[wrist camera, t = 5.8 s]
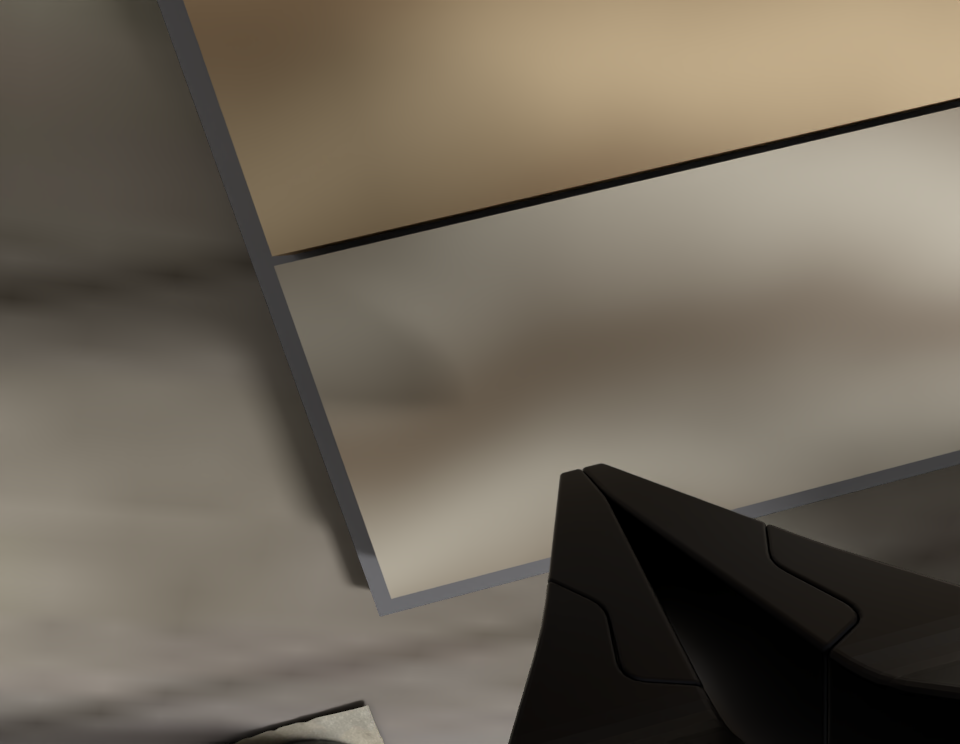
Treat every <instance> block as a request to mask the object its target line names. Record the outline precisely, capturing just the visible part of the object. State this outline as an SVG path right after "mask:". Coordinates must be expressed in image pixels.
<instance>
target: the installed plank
mask: <svg viewBox="0 0 960 744" xmlns="http://www.w3.org/2000/svg"><path fill="white" fill-rule="evenodd" d="M183 1H184V4H185V7H186V10H187V13H188V16H189V18H190V21H191V24H192V27H193V30H194V33H195V36H196V39H197V41H198V44H199V47H200V50H201V53H202V56H203V59H204V62H205V64H206V67H207V70H208V73H209V76H210V79H211V82H212V85H213V87H214V90H215V93H216V96H217V99H218V102H219V105H220V108H221V111H222V113H223V116H224V119H225V122H226V125H227V128H228V131H229V134H230V136H231V139H232V142H233V145H234V148H235V151H236V154H237V157H238V159H239V162H240V165H241V168H242V171H243V174H244V177H245V180H246V182H247V185H248V188H249V191H250V194H251V197H252V200H253V203H254V205H255V208H256V211H257V214H258V217H259V220H260V223H261V226H262V228H263V231H264V234H265V237H266V240H267V243H268V246H269V249H270V251H271V254H272V256H284V255H294V254H299V253H303V252H307V251H312V250H316V249H320V248H325V247H329V246H333V245H338V244H342V243H346V242H351V241H355V240H359V239H363V238H368V237H372V236H376V235H381V234H385V233H389V232H394V231H398V230H402V229H407V228H411V227H415V226H420V225H424V224H428V223H433V222H437V221H441V220H446V219H450V218H454V217H458V216H463V215H467V214H471V213H476V212H480V211H484V210H489V209H493V208H497V207H502V206H506V205H510V204H515V203H519V202H523V201H528V200H532V199H536V198H540V197H545V196H549V195H553V194H558V193H562V192H566V191H571V190H575V189H579V188H584V187H588V186H592V185H597V184H601V183H605V182H610V181H614V180H618V179H623V178H627V177H631V176H635V175H640V174H644V173H648V172H653V171H657V170H661V169H666V168H670V167H674V166H679V165H683V164H687V163H692V162H696V161H700V160H705V159H709V158H713V157H717V156H722V155H726V154H730V153H735V152H739V151H743V150H748V149H752V148H756V147H761V146H765V145H769V144H774V143H778V142H782V141H787V140H791V139H795V138H800V137H804V136H808V135H812V134H817V133H821V132H825V131H830V130H834V129H838V128H843V127H847V126H851V125H856V124H860V123H864V122H869V121H873V120H877V119H882V118H886V117H890V116H894V115H899V114H903V113H907V112H912V111H916V110H920V109H925V108H929V107H933V106H938V105H942V104H946V103H951V102H955V101H959V100H960V0H183Z"/></svg>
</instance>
